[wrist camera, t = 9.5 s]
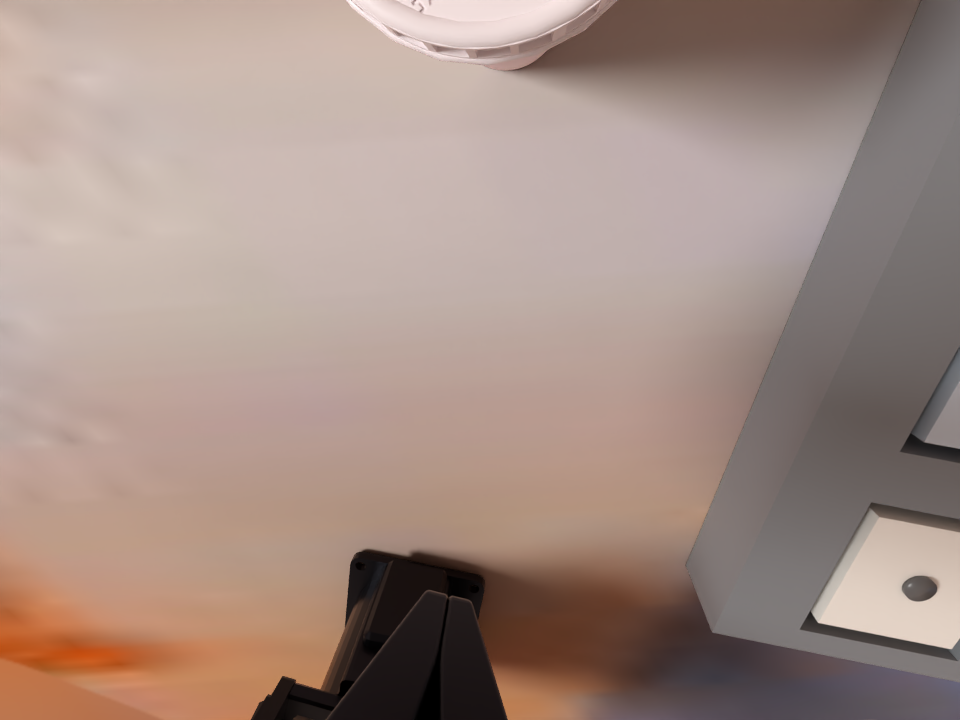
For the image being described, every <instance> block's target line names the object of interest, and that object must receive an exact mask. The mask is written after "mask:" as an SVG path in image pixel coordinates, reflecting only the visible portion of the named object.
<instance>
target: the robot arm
mask: <svg viewBox="0 0 960 720" xmlns="http://www.w3.org/2000/svg"><path fill="white" fill-rule="evenodd" d="M360 562H362V563H364V564H361V563H360ZM472 585H476V586H472ZM484 589H485V581H484V579H483V578H482V577H481V576H479V575H476V574H471V573H466V572H461V571H456V570H451V569H446V568H441V567H436V566H431V565H426V564H421V563H416V562H411V561H406V560H401V559H396V558H391V557H386V556H381V555H376V554H371V553H366V552H358V553H356V554H355V555H354V557H353V559H352V561H351V564H350V575H349V586H348V598H347V609H346V621H345V630H344V632H343V635H342V637H341V640H340V642H339V645H338V647H337V650H336V652H335V655H334V657H333V660H332V662H331V665H330V667H329V670H328V672H327V675H326V677H325V680H324V682H323V685H322V687H321V690H320V689H316V688H313V687H309V686H306V685H302V684H299V683H296V680H295V679H292V678H288V677H285V676H282V678H281V680H280V681H279V683H278V685H277V686H276V688H275V690H274V692H273V693H272V695H269V694H268V695H267V697H266V698H265V700H264V701H262V702H260V703H259V705H258V707H257V709H256V711H255V713H254V715H253V717H252V719H251V720H508V719H507V716H506V713H505V709H504V706H503V703H502V699H501V696H500V693H499V690H498V686H497V683H496V680H495V676H494V673H493V670H492V666H491V663H490V660H489V657H488V653H487V650H486V647H485V643H484V640H483V637H482V633H481V630H480V627H479V624H478V617H479V612H480V608H481V603H482V599H483V594H484Z"/></svg>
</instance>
